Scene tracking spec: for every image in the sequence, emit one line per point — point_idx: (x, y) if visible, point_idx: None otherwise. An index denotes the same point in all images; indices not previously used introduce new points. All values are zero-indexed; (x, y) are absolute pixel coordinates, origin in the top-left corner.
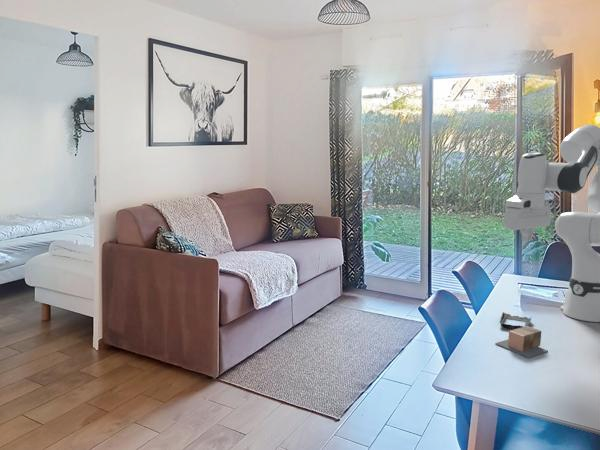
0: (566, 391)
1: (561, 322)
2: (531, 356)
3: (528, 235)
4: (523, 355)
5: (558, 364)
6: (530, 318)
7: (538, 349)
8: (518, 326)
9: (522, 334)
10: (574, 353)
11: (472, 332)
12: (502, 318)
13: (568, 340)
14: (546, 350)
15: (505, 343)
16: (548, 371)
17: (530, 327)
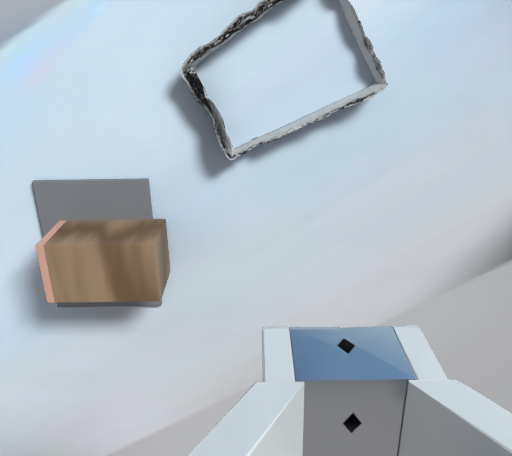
0: (3, 450)
1: (492, 151)
2: (74, 305)
3: (402, 421)
4: None
5: (113, 365)
6: (358, 101)
7: None
8: (223, 139)
9: (60, 290)
10: (231, 343)
11: (26, 41)
12: (243, 26)
13: (318, 277)
14: (157, 302)
15: (66, 202)
16: (47, 378)
17: (150, 260)
